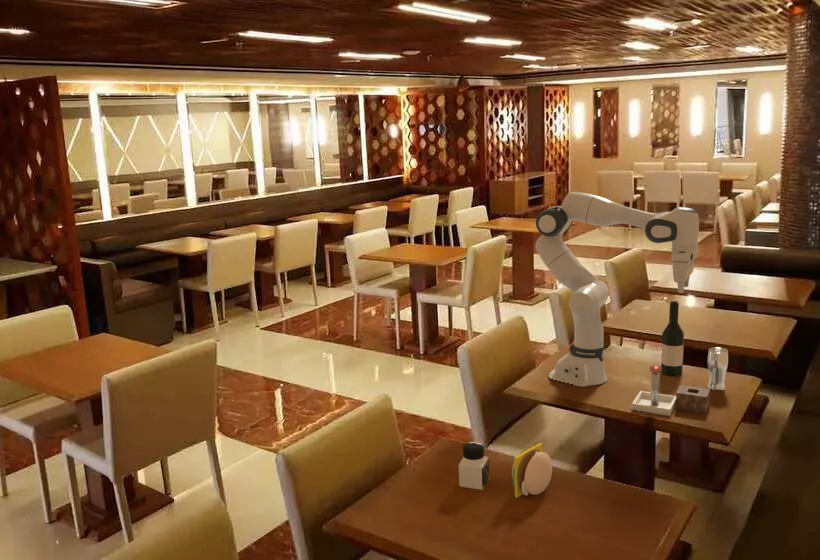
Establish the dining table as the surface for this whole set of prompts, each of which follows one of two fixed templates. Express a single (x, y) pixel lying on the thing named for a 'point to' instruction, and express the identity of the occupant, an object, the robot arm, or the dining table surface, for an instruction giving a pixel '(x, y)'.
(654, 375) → the pin
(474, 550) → the dining table surface
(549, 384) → the dining table surface
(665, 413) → the tray
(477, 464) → the medicine bottle
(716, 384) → the beer glass
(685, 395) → the block
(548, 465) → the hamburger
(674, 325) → the wine bottle
